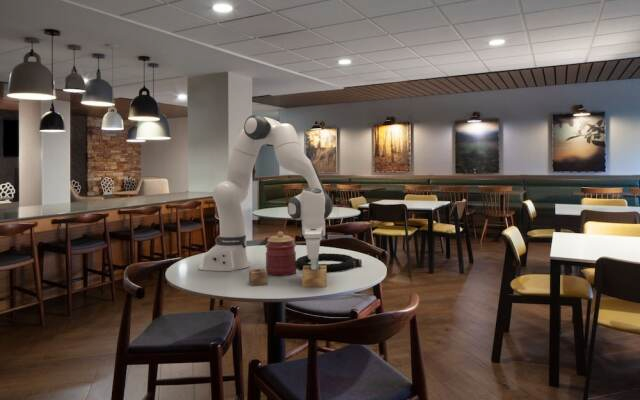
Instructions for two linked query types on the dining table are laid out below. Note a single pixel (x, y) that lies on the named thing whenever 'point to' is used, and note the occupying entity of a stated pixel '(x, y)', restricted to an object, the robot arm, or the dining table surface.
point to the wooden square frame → (314, 276)
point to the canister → (280, 255)
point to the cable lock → (346, 259)
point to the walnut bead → (258, 277)
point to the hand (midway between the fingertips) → (314, 266)
